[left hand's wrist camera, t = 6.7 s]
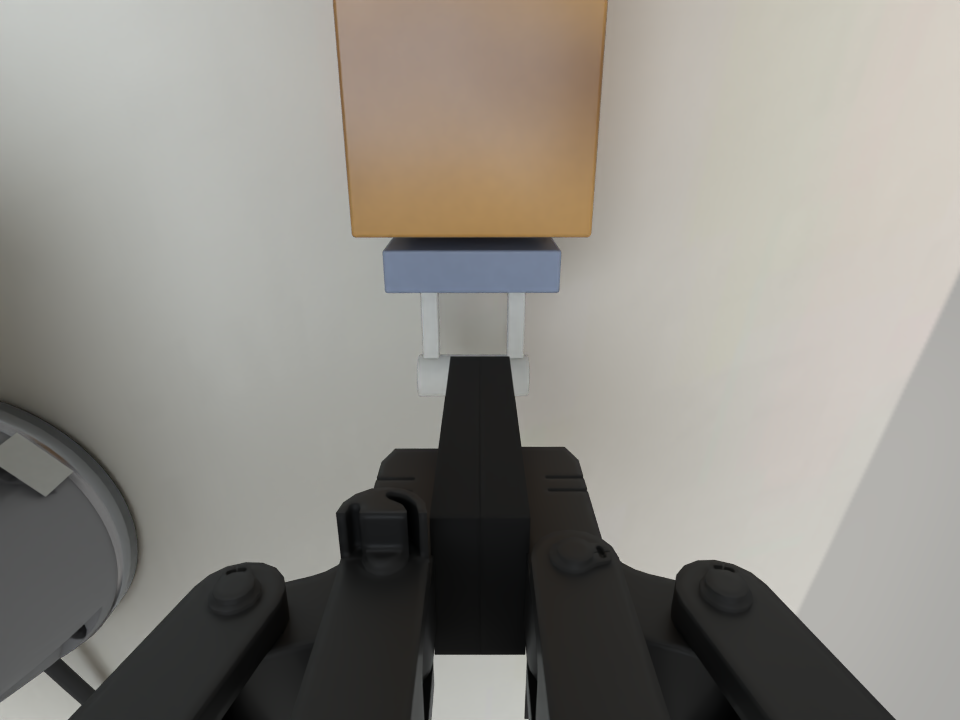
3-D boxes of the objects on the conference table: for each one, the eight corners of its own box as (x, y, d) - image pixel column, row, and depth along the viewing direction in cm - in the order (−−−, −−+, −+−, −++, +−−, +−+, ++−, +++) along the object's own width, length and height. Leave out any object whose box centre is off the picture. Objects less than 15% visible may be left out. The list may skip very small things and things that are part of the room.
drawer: (528, 358, 26) (550, 454, 18) (418, 358, 26) (395, 455, 18) (554, -392, 17) (618, -810, 9) (386, -393, 17) (314, -814, 9)
